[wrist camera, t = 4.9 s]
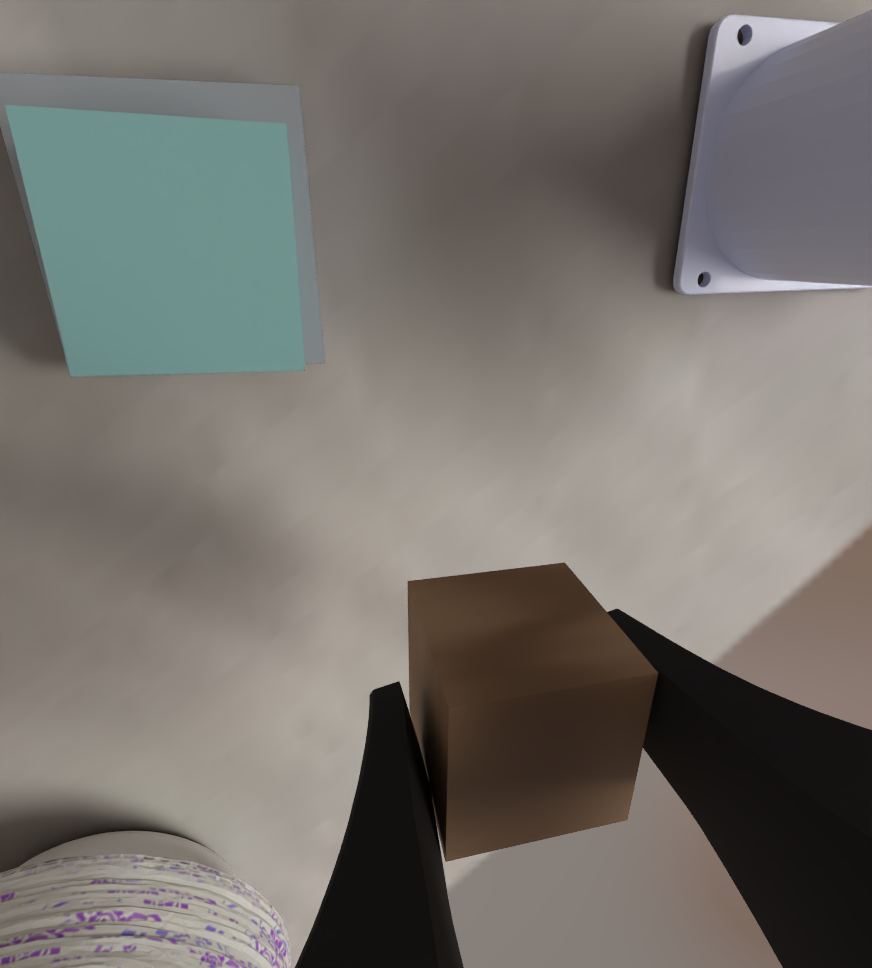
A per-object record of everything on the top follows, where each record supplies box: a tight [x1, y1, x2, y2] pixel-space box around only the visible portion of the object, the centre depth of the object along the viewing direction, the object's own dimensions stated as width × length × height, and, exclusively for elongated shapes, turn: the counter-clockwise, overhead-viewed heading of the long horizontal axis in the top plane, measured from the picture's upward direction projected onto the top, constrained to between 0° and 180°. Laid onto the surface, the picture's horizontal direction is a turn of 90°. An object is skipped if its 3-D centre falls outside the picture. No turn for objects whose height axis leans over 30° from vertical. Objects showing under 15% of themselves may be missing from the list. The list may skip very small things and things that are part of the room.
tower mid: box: [5, 105, 305, 377], centre depth 14 cm, size 6×6×2 cm
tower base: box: [0, 72, 325, 377], centre depth 16 cm, size 7×7×2 cm
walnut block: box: [408, 563, 658, 861], centre depth 12 cm, size 4×4×4 cm
